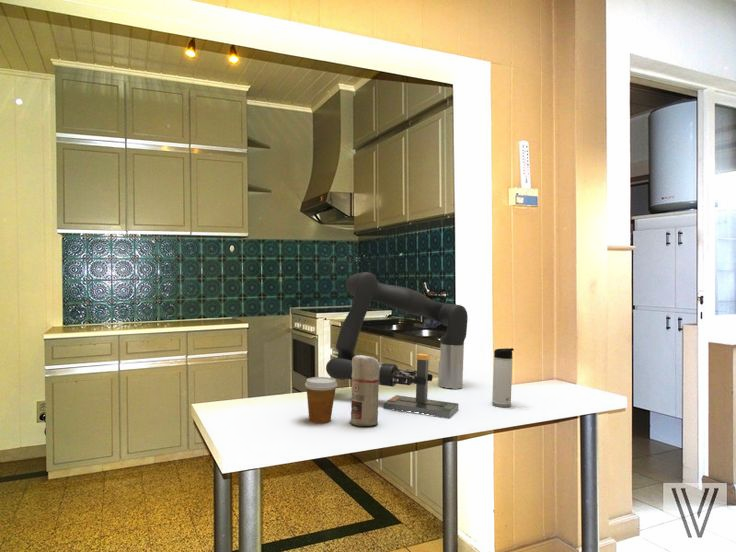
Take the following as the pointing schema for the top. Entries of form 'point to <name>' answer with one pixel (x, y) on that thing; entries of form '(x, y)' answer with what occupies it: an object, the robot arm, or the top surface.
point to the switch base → (422, 406)
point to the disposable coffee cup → (320, 398)
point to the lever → (422, 372)
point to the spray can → (364, 391)
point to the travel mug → (502, 377)
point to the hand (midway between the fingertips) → (429, 379)
